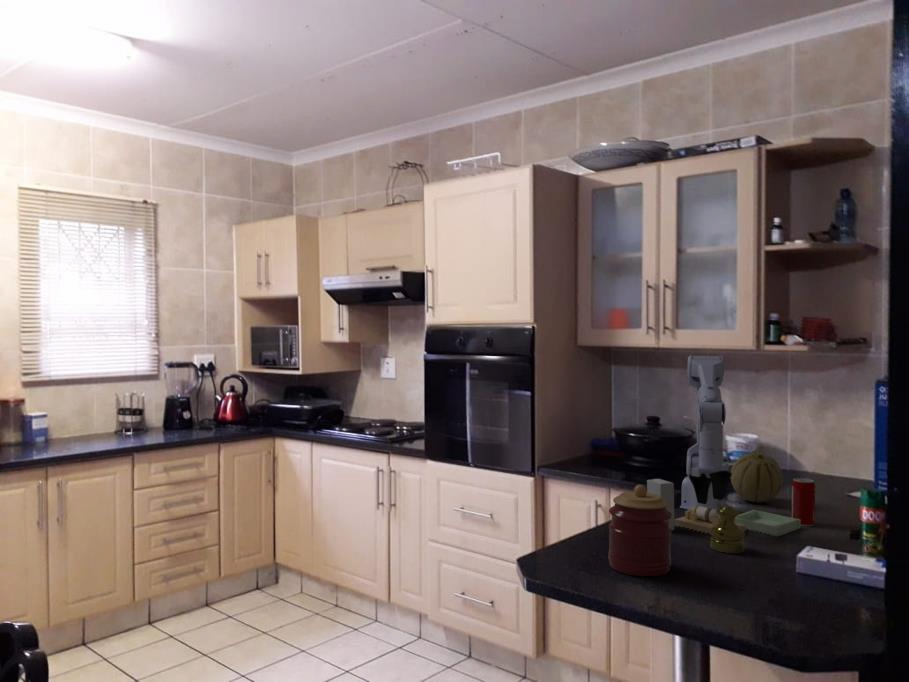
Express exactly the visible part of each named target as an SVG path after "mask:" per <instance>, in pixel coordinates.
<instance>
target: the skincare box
mask: <svg viewBox="0 0 909 682" xmlns="http://www.w3.org/2000/svg"><path fill="white" fill-rule="evenodd" d="M646 484H647V485H646V490H647V492H648V493H653V494H657V495H659V496H660V497H661V498H662V499H664V500H665V501H667V503H668V505H667V506H666V510H668V511H669V512H670V513H671V514H672V517H671V518H670V519H669V527H670V528H671V531H675V483H674V482H671V481H668V480H666V479H665V480H664V479H661V478H652V479H647V480H646Z"/></svg>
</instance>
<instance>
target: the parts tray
mask: <svg viewBox="0 0 909 682" xmlns="http://www.w3.org/2000/svg"><path fill="white" fill-rule="evenodd" d="M735 522H736V523H740V524H744V525H745V530H747V529H749V530H748V531H751V530H753V531H752V532H756V531H758V532H757V533H760V532H762V533H761V534H764V533H766V534H765V535H768V534H770V535H769V536H773V537H781V536H783V535H785V534H788V533H791V532H794V531H797V530H799V529H801V526H800V523H801V520H800V519H795V518H792V517H789V516H784V515H779V514H776V513H770V512H766V511H762V510H756V509H751V510H749V511H746V512H743V513H739V515H738V516H736V517H735Z"/></svg>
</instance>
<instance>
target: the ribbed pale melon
mask: <svg viewBox="0 0 909 682" xmlns="http://www.w3.org/2000/svg"><path fill="white" fill-rule="evenodd" d="M730 472H731V473H732V475H731V477H730V482H731V484H732V488H733V489H734V491H735V492H736V494H737V495H739V496H740V497H741V498H742V499H744V500H746V501H748V502H750V503H751V502H752V503H766V502H770V501H772V500H773V499H775V498H776V497H777V496H778V495H779V494H780V492H781V491H782V487H783V483H784V476H783V472H782V469H781V467H780V466H779V464H778V462H777V461H776V460H775V459H774V458H773V457H771V456H769V455H766V454H764V453H760V452H750V453H747V454H743V455H742V456H740V457H739V458H738V459H737V460H736V461H734V463H733V465H732V467H731V470H730Z"/></svg>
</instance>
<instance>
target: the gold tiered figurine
mask: <svg viewBox="0 0 909 682" xmlns="http://www.w3.org/2000/svg"><path fill="white" fill-rule="evenodd" d="M716 512H717V513H718V514H719V515H720V517H721V521H720V522H719V523H718V524H717V525H716V526H713V527H712V528H711V530H710V532H711V534H710V535H711V537H709V538H710V542H709V543H710V544H709V545H710V548H711V549H712V550H713V549H714V551H715V550H717V551H716V552H718V551H720V552H719V553H722V552H725V553H724V554H728V553H738V554H742V553H743V552H744V551H745V541H744V538H745V531H743V530H741V529H740V528H738V526H737V525H736V524H735V523H734V518H735V517H736V516H738V515H739V514H740V511H738V510H737V509H736V508H733V507H732V506H731V505H724V506H723V507H722V506H720V507H719V509H717V510H716ZM741 552H742V553H741Z"/></svg>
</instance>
